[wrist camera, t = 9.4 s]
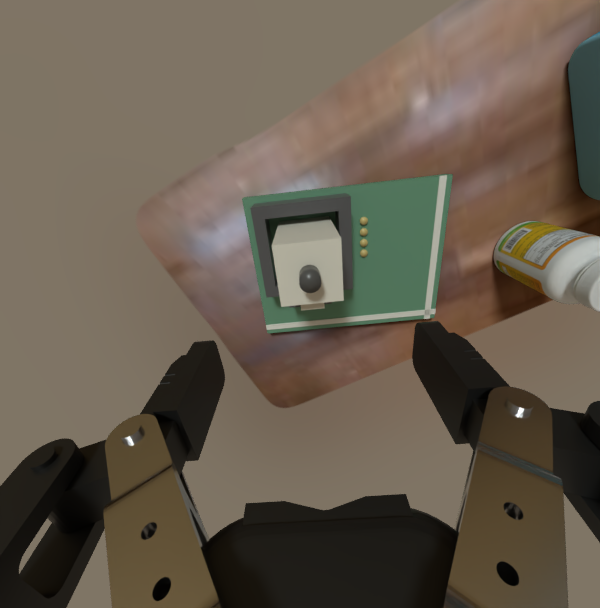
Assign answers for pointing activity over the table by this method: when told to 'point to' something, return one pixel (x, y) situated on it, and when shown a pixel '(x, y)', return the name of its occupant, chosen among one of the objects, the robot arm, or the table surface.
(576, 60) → the data package
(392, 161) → the table surface
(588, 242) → the supplement bottle
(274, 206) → the frame
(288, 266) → the plug
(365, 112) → the table surface
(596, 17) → the table surface
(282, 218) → the header board
